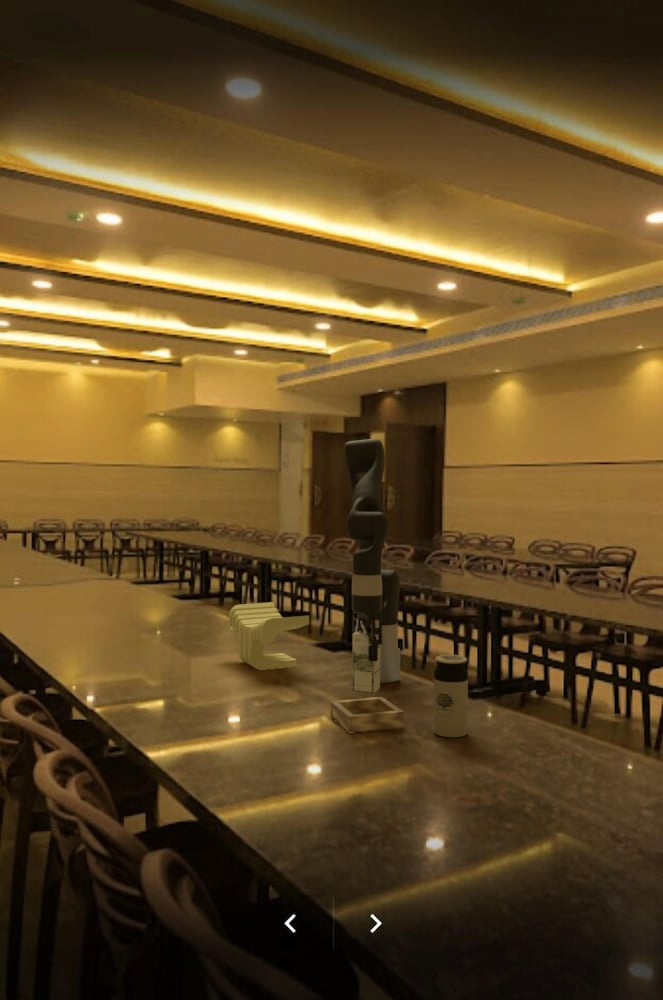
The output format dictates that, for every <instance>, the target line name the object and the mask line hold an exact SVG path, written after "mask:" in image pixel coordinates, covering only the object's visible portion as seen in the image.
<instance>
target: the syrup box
mask: <svg viewBox="0 0 663 1000" xmlns="http://www.w3.org/2000/svg"><path fill="white" fill-rule="evenodd" d="M370 638H371V637H370ZM368 646H369V645H368V641H367V638H365V637H364V633H363V632H361V630H359V631H356V632H355V633H353V634H352V661H351V662H352V667H351V668H352V677H351V678H352V679H351V681H352V684H351V685H352V692H357V693H367V694H368V693H369V694H375V693H376V692H377V691H378V690H380V687H381V683H380V645H379V646H378V660H377V661H373V662H370V661H369V660H368Z"/></svg>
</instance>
